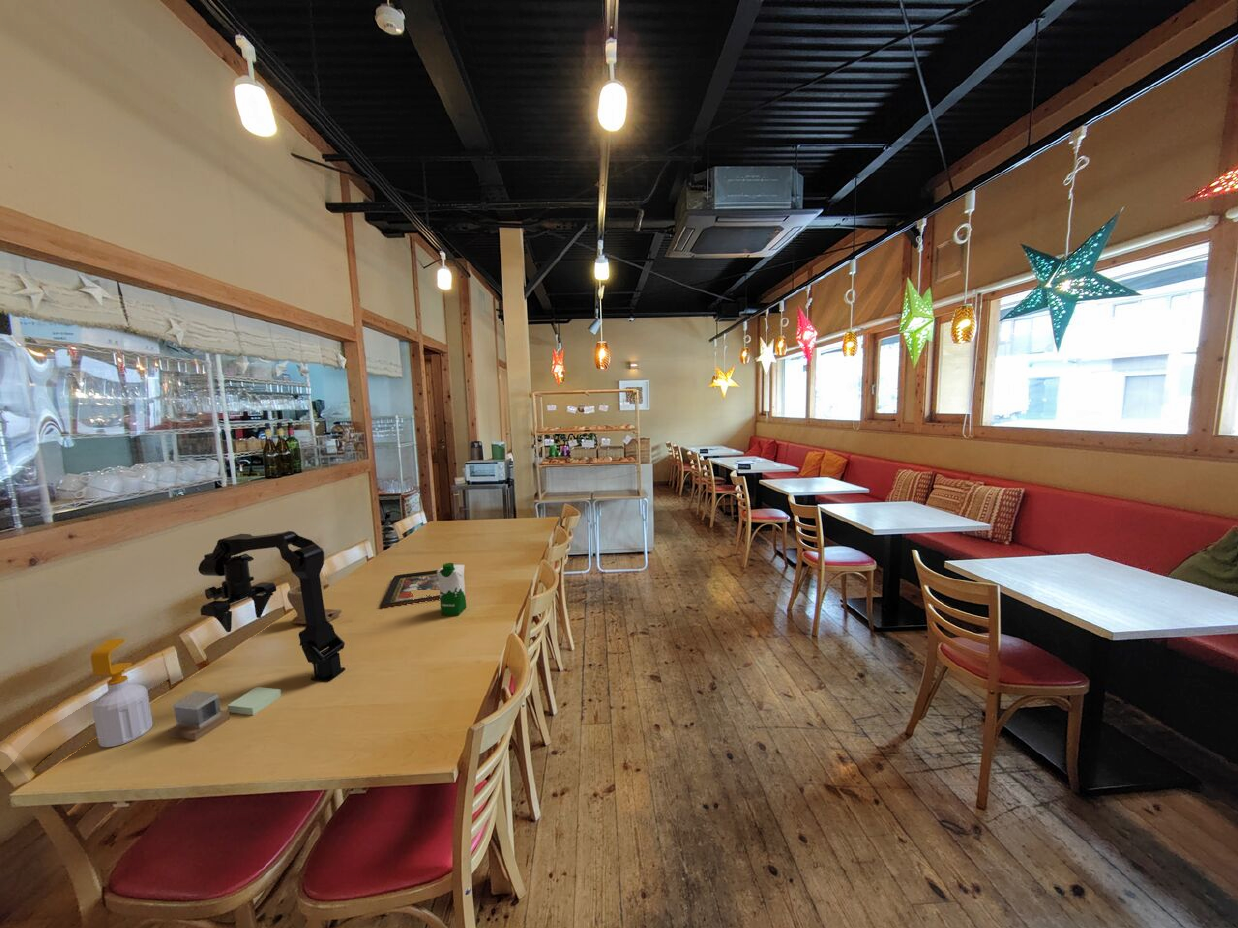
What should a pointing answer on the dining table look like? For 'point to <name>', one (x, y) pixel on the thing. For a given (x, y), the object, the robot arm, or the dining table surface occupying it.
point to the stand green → (254, 701)
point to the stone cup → (297, 603)
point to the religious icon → (410, 588)
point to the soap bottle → (118, 701)
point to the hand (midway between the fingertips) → (244, 624)
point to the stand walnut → (195, 732)
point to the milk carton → (452, 589)
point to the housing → (197, 709)
